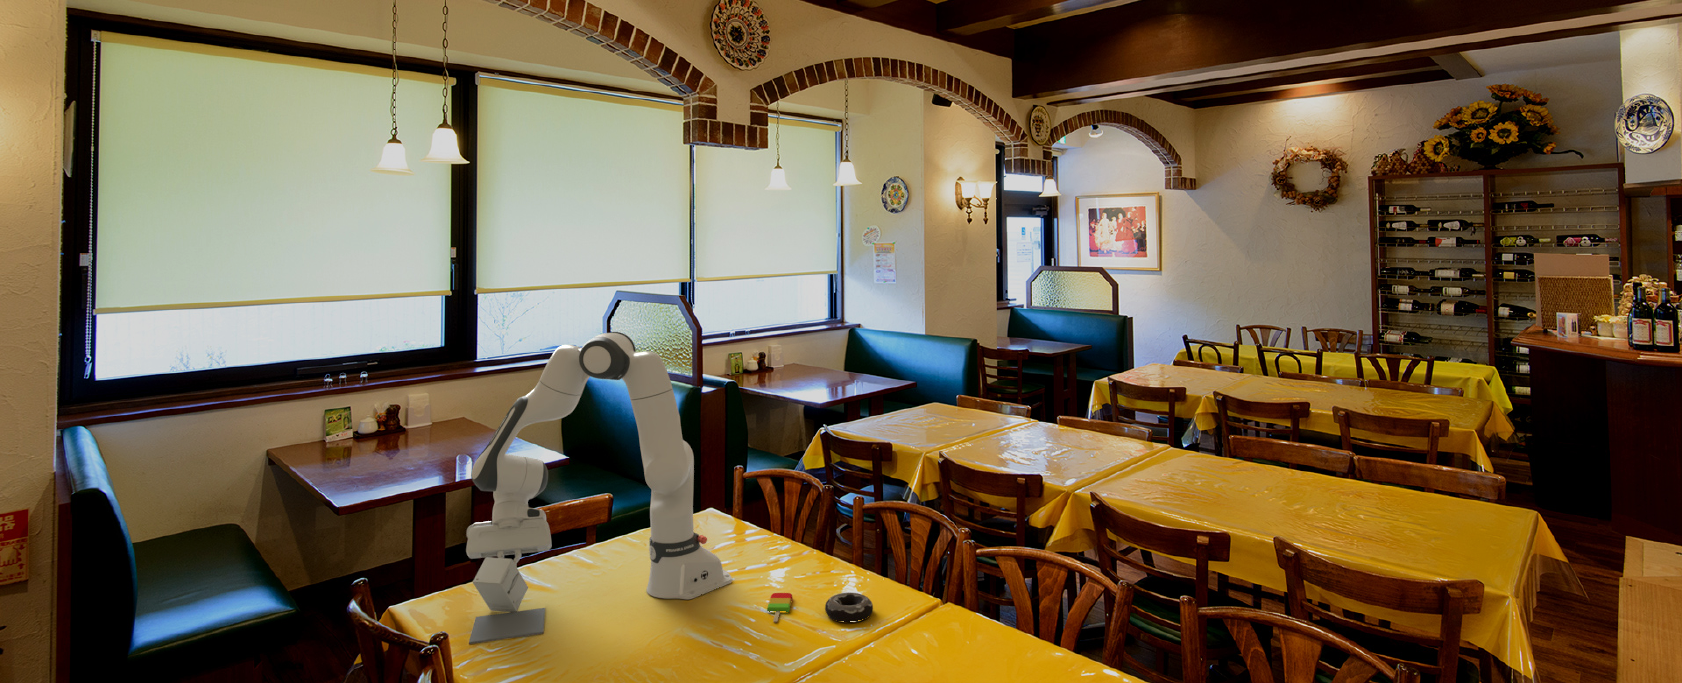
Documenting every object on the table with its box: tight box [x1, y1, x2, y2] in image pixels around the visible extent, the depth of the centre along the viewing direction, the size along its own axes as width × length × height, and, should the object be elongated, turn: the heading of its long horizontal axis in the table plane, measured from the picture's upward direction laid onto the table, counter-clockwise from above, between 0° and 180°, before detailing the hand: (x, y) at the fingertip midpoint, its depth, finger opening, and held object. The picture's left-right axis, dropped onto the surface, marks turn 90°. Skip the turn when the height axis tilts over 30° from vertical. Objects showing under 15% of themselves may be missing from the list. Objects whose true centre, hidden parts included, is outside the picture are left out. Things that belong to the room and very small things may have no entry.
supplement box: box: [472, 557, 529, 613], centre depth 204 cm, size 7×7×13 cm
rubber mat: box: [468, 607, 546, 645], centre depth 198 cm, size 14×16×1 cm
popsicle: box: [766, 592, 793, 623], centre depth 205 cm, size 6×15×2 cm, turn 178°
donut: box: [824, 592, 874, 622], centre depth 202 cm, size 12×12×4 cm
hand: (509, 569), depth 207 cm, fingers closed
